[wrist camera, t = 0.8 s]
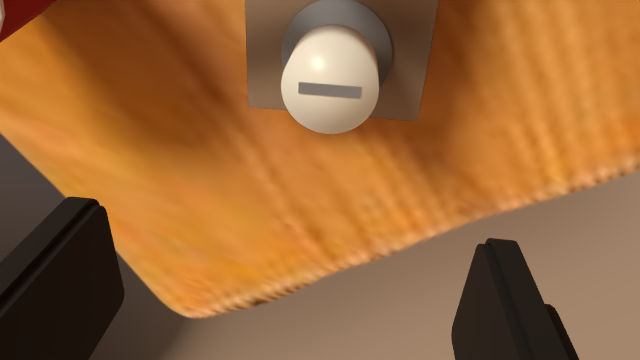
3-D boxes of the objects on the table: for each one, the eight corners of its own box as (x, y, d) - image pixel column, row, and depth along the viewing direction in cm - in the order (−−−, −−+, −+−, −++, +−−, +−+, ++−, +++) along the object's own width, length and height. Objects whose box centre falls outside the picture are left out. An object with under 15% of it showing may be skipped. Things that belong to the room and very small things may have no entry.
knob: (291, 20, 22) (281, 36, 19) (382, 27, 22) (385, 44, 19) (289, 106, 24) (280, 130, 22) (372, 113, 24) (373, 138, 22)
